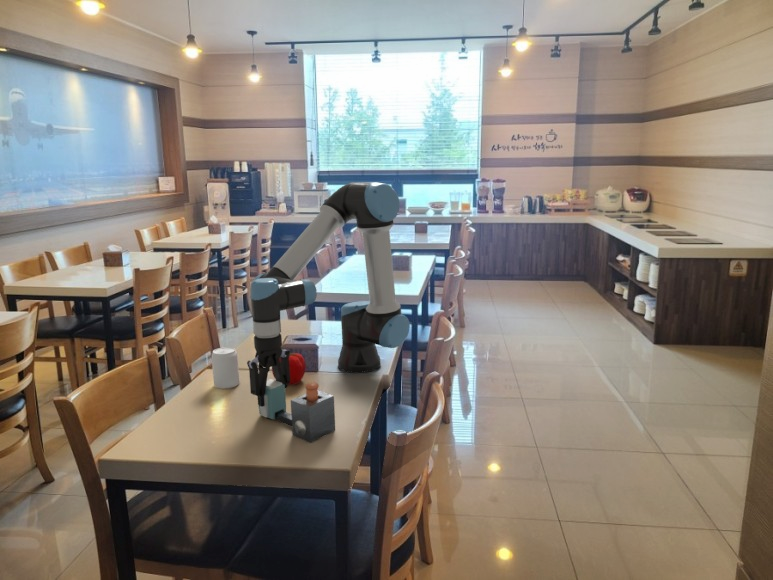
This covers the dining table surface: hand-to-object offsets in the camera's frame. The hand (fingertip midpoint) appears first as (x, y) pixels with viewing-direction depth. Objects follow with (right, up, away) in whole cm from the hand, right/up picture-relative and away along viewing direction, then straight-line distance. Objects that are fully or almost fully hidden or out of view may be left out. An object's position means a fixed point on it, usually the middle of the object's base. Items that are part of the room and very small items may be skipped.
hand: (272, 412), depth 160 cm
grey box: (+13, -3, -10) cm, 17 cm away
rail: (+4, -2, -3) cm, 5 cm away
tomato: (+1, +4, +26) cm, 27 cm away
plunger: (+13, +5, -12) cm, 18 cm away
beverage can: (-20, +3, +24) cm, 31 cm away
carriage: (0, -1, 0) cm, 1 cm away
